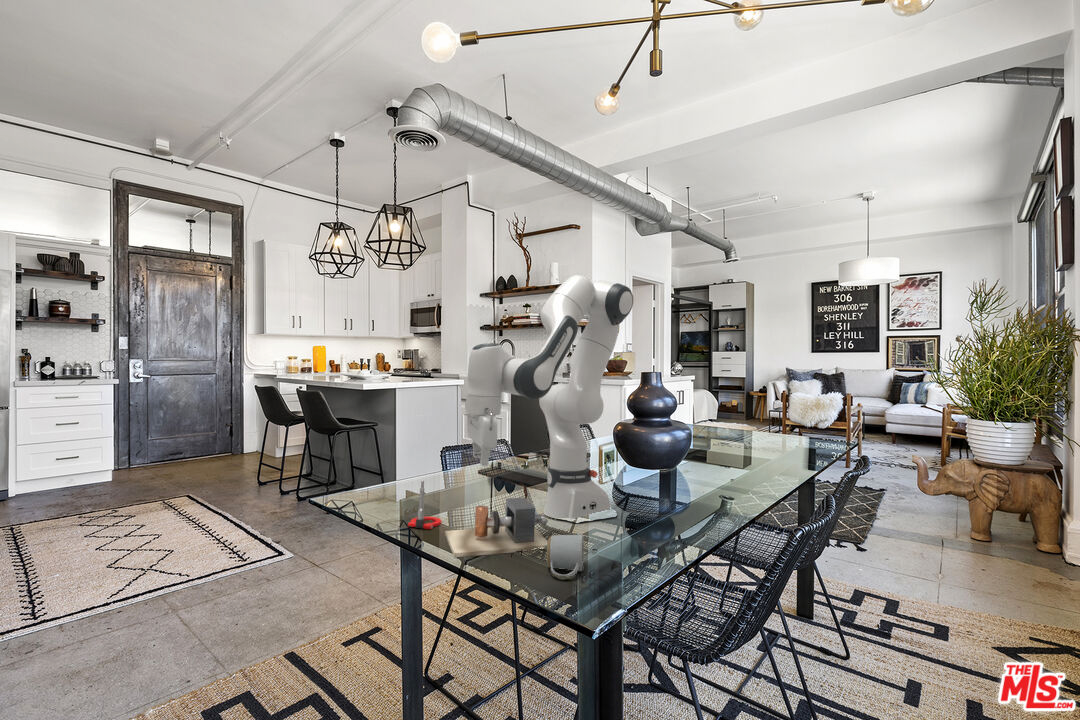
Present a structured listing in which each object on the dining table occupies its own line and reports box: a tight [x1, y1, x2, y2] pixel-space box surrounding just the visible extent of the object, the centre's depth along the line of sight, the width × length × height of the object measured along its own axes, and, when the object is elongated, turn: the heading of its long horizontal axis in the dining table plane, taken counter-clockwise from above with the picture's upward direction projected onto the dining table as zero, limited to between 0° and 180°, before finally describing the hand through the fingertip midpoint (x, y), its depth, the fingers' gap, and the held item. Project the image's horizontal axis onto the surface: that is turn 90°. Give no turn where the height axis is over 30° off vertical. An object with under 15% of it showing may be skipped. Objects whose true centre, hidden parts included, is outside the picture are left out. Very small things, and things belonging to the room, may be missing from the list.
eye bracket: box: [504, 497, 536, 543], centre depth 137 cm, size 5×10×8 cm, turn 18°
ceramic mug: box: [546, 534, 585, 577], centre depth 118 cm, size 11×8×8 cm
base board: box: [444, 526, 548, 559], centre depth 135 cm, size 24×16×1 cm, turn 108°
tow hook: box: [407, 480, 442, 530], centre depth 148 cm, size 8×13×9 cm
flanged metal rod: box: [474, 505, 548, 537], centre depth 136 cm, size 19×6×7 cm, turn 108°
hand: (480, 461), depth 134 cm, fingers open, 8 cm apart
